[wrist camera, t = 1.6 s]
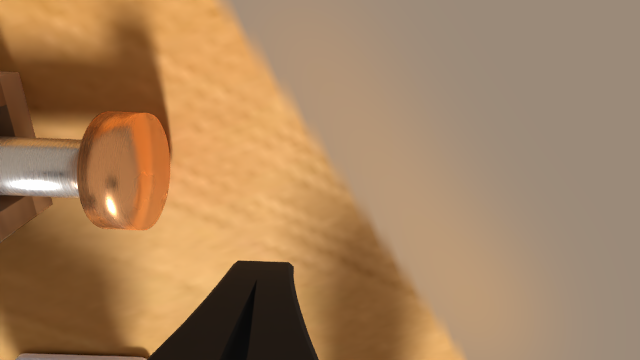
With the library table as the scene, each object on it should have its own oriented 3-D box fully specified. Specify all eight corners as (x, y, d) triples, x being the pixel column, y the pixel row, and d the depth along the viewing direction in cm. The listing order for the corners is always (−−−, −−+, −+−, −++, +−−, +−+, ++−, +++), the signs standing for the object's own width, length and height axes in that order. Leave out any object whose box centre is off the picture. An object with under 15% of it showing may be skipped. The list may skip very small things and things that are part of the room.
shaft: (163, 101, 17) (110, 132, 13) (174, 198, 19) (131, 253, 15) (-89, 90, 17) (-231, 117, 13) (-52, 189, 19) (-165, 242, 15)
